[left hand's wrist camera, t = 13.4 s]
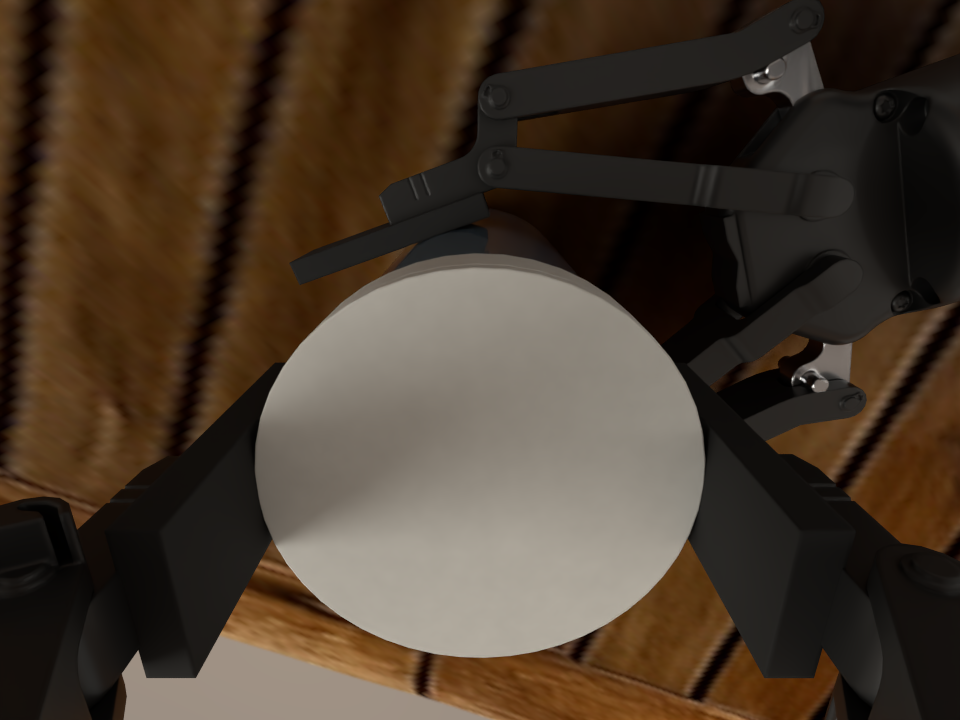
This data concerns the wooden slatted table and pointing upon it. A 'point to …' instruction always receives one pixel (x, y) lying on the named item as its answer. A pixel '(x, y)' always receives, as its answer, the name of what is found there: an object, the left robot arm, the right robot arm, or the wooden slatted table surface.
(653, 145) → the wooden slatted table surface
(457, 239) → the jar
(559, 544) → the lid
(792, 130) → the right robot arm
